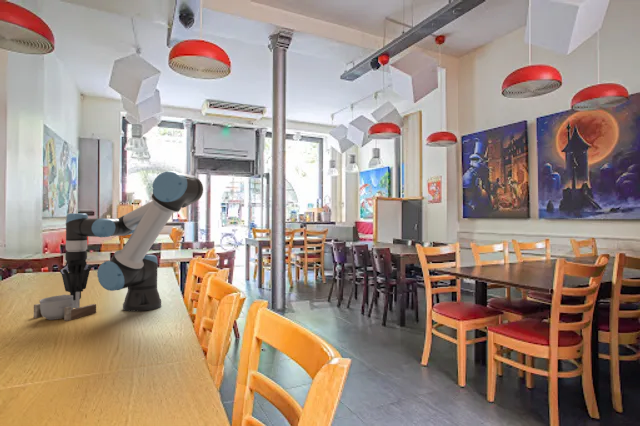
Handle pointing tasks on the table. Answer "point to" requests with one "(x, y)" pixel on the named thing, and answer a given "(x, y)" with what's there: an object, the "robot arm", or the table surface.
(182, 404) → the table surface
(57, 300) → the teacup
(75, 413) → the table surface
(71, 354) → the table surface
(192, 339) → the table surface
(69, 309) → the brown parallel rails
